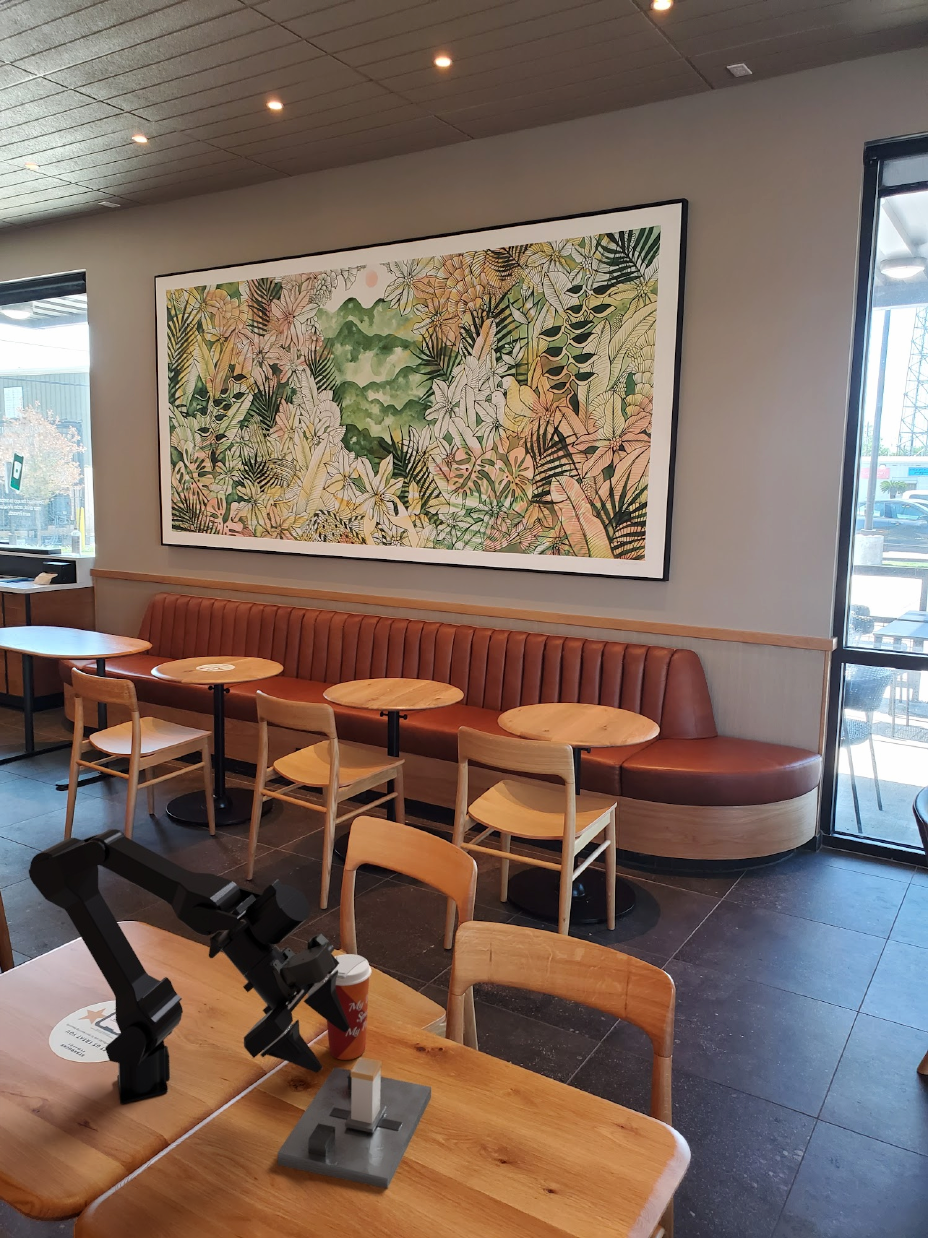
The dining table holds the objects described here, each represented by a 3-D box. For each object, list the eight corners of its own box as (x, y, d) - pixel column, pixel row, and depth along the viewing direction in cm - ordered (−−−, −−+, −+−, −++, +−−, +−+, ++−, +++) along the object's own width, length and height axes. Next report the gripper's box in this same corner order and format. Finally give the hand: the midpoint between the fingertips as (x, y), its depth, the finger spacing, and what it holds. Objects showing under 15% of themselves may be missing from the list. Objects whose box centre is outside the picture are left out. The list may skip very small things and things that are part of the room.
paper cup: (363, 1067, 133) (362, 979, 131) (315, 1061, 134) (313, 974, 133) (378, 1037, 141) (377, 954, 139) (332, 1032, 142) (331, 949, 141)
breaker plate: (277, 1166, 113) (277, 1138, 113) (334, 1079, 130) (334, 1054, 130) (387, 1193, 109) (387, 1164, 109) (430, 1100, 126) (431, 1074, 126)
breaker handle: (344, 1126, 117) (345, 1075, 116) (358, 1102, 122) (359, 1052, 121) (372, 1133, 116) (373, 1081, 115) (386, 1108, 121) (386, 1058, 120)
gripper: (264, 962, 110) (346, 1060, 108) (326, 898, 127) (397, 981, 126) (209, 1010, 113) (288, 1106, 111) (277, 941, 130) (346, 1023, 129)
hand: (334, 1049), depth 119 cm, fingers open, 9 cm apart
